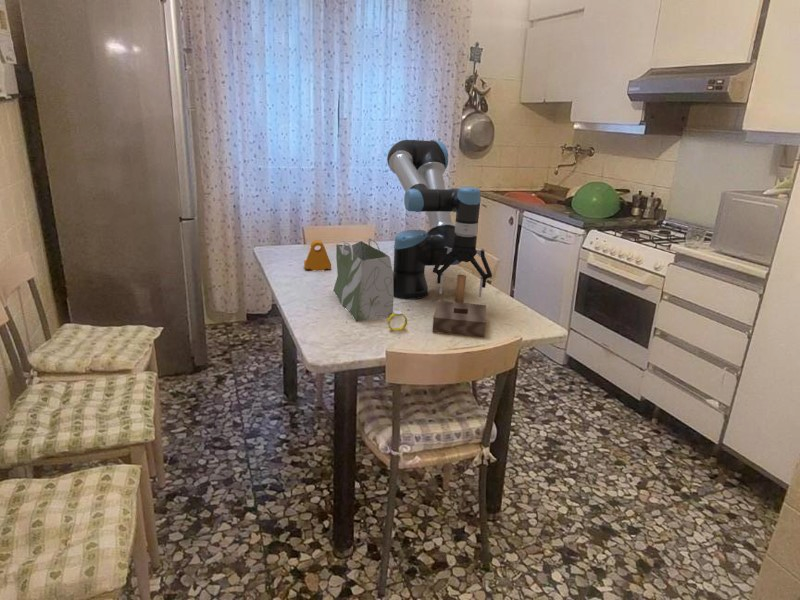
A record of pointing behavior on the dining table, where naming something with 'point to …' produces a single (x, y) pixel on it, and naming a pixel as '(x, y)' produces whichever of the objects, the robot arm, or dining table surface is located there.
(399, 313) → the yellow ring
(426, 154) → the robot arm
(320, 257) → the bracket
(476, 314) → the socket block
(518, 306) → the dining table surface
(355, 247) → the grocery bag
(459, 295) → the peg
